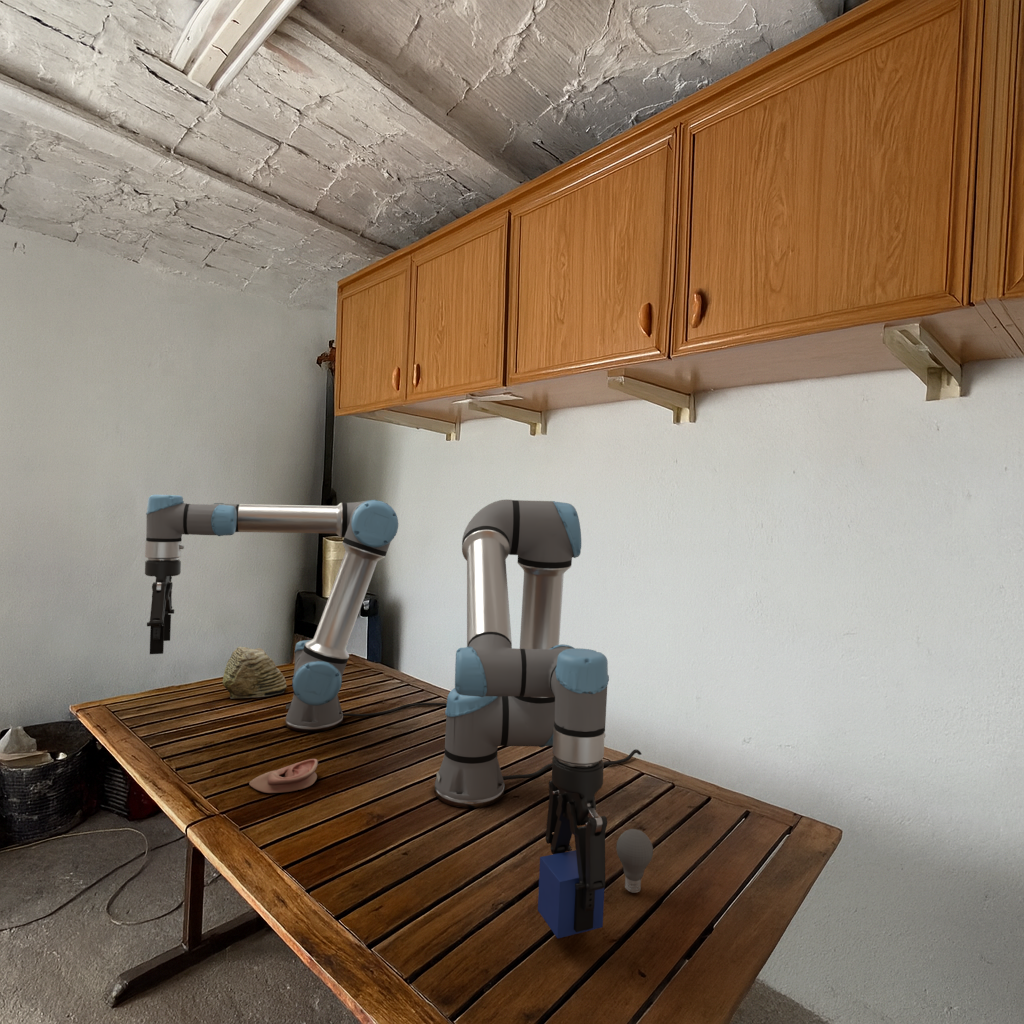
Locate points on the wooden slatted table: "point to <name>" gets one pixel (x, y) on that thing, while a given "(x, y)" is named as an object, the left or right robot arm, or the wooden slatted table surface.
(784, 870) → the wooden slatted table surface
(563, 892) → the block
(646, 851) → the light bulb
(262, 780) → the anatomical model
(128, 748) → the wooden slatted table surface
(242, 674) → the fossil
